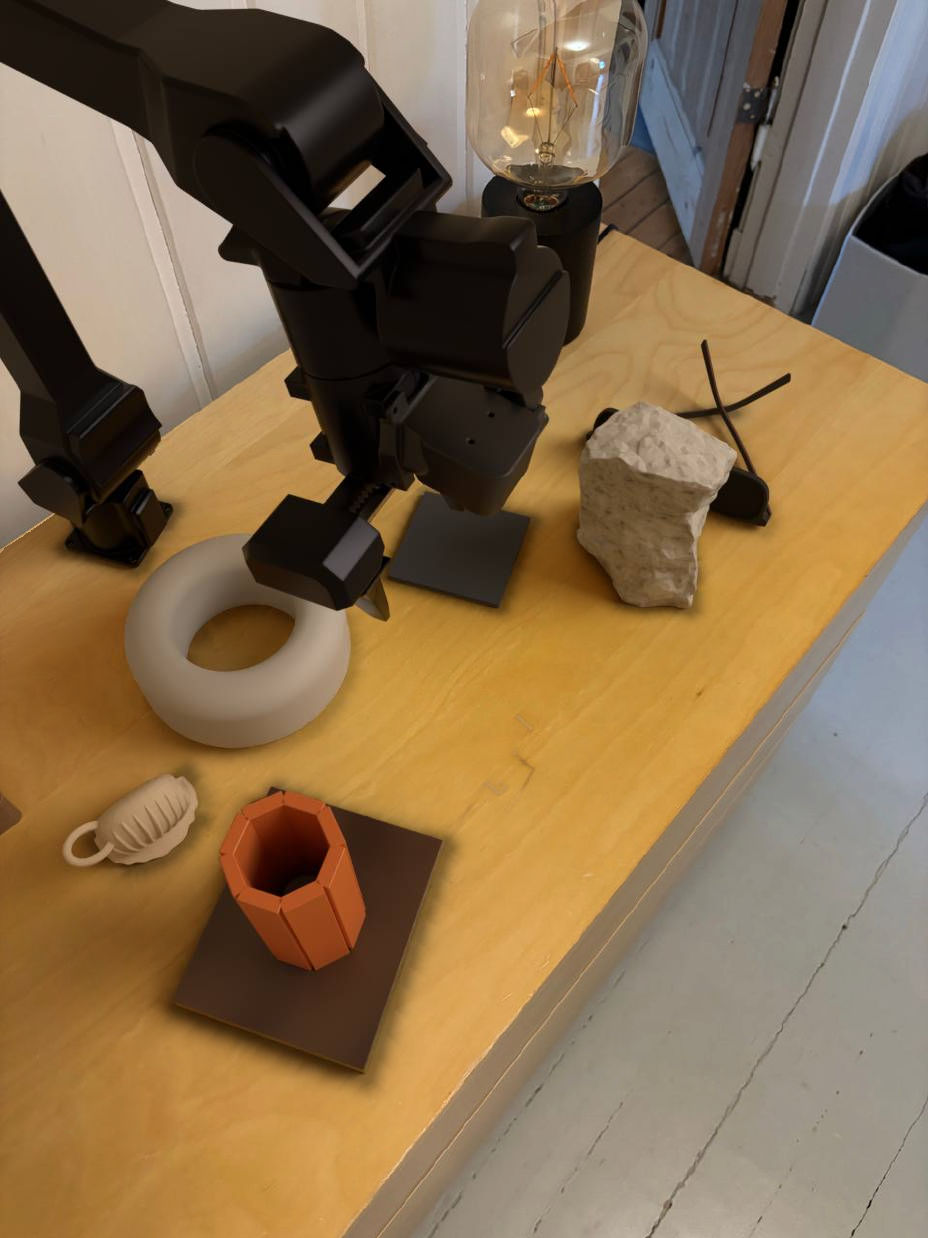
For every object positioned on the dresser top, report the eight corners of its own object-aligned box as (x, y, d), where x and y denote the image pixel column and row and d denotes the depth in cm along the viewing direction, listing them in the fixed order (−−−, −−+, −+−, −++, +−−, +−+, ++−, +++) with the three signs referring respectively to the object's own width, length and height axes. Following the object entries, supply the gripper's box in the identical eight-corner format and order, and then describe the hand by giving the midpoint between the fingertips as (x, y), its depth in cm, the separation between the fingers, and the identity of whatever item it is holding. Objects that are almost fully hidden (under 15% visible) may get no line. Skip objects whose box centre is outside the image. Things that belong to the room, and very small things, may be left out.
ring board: (177, 1006, 56) (151, 985, 51) (274, 794, 63) (259, 760, 58) (366, 1074, 54) (357, 1059, 49) (444, 847, 61) (442, 816, 56)
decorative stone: (717, 537, 75) (766, 402, 63) (683, 625, 70) (730, 497, 58) (596, 497, 77) (621, 358, 65) (556, 580, 73) (575, 448, 60)
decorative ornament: (216, 819, 62) (197, 787, 57) (101, 899, 59) (72, 872, 54) (184, 775, 64) (164, 740, 59) (71, 851, 61) (41, 821, 56)
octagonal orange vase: (247, 949, 56) (200, 888, 46) (288, 856, 59) (252, 779, 49) (341, 981, 55) (314, 926, 45) (377, 885, 58) (359, 812, 48)
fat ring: (321, 555, 74) (309, 500, 68) (378, 714, 66) (371, 667, 60) (129, 610, 71) (101, 557, 65) (166, 783, 63) (138, 741, 58)
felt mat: (387, 578, 73) (386, 575, 72) (425, 494, 77) (425, 490, 77) (498, 608, 71) (498, 605, 71) (530, 520, 76) (530, 516, 75)
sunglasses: (830, 434, 81) (850, 390, 77) (756, 540, 75) (774, 499, 70) (660, 356, 86) (670, 312, 82) (577, 450, 80) (584, 406, 76)
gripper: (394, 519, 36) (462, 730, 48) (592, 254, 45) (608, 487, 57) (182, 458, 41) (293, 664, 53) (399, 228, 50) (452, 449, 62)
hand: (421, 561), depth 56 cm, fingers open, 9 cm apart
